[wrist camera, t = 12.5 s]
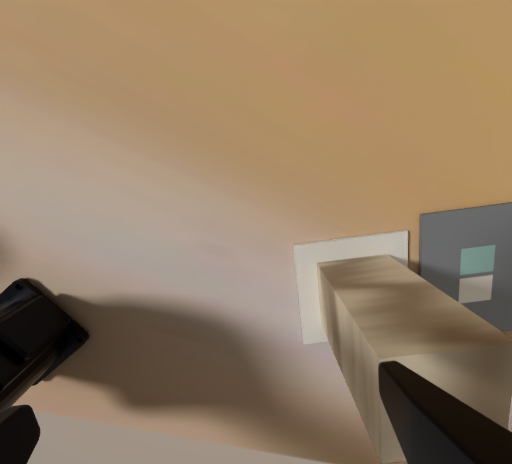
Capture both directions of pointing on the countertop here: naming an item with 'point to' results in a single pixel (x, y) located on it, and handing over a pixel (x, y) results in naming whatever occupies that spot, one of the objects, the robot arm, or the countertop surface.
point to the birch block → (409, 341)
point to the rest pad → (330, 251)
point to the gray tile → (471, 259)
